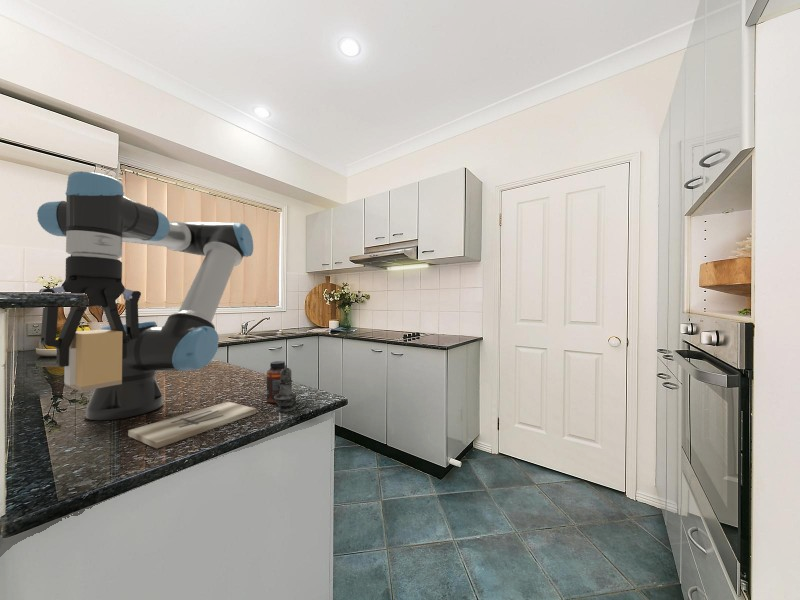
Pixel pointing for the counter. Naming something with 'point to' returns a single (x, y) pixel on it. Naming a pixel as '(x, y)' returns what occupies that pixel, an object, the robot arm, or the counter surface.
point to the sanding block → (97, 359)
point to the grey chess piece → (285, 392)
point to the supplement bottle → (274, 380)
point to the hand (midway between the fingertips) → (93, 379)
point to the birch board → (189, 424)
